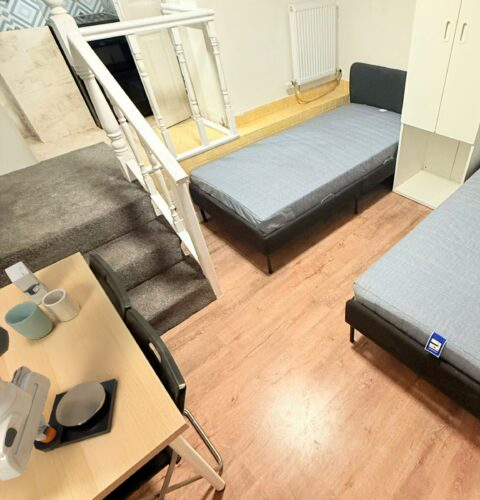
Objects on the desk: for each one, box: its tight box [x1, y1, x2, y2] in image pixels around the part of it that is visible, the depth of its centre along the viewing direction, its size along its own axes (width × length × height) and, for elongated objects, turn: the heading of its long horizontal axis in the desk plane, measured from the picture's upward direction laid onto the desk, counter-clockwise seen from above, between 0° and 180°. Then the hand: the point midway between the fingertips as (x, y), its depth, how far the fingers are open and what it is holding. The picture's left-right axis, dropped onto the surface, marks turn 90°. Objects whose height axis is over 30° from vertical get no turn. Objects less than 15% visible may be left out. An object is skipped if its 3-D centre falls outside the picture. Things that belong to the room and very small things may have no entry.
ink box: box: [4, 260, 50, 306], centre depth 106 cm, size 8×5×12 cm, turn 49°
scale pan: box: [56, 380, 105, 427], centre depth 81 cm, size 11×11×1 cm
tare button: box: [41, 426, 57, 443], centre depth 76 cm, size 3×3×2 cm
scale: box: [33, 378, 119, 453], centre depth 81 cm, size 15×14×4 cm
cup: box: [3, 300, 53, 340], centre depth 97 cm, size 8×8×10 cm
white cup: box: [41, 288, 81, 322], centre depth 102 cm, size 6×6×8 cm
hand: (44, 433), depth 75 cm, fingers closed
